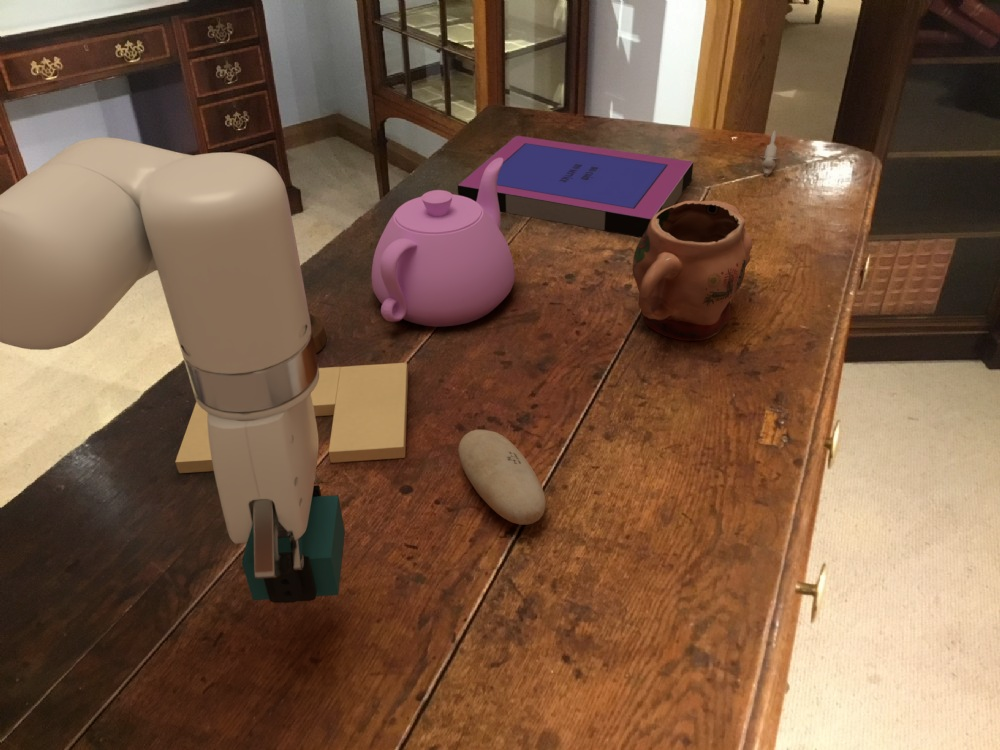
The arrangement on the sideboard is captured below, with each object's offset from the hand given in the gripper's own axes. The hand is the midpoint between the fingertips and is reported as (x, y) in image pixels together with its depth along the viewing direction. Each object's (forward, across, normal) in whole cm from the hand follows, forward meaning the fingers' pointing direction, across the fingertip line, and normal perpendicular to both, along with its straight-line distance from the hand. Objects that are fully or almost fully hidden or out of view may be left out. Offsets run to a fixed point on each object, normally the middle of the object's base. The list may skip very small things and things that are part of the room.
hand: (299, 559), depth 62 cm
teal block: (+1, 0, 0) cm, 1 cm away
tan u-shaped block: (+9, -27, -4) cm, 29 cm away
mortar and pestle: (+9, -41, -6) cm, 42 cm away
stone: (+9, -14, +16) cm, 23 cm away
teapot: (+9, -51, +12) cm, 53 cm away
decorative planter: (+8, -39, +38) cm, 56 cm away
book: (+9, -78, +32) cm, 84 cm away
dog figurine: (+8, -82, +62) cm, 103 cm away
